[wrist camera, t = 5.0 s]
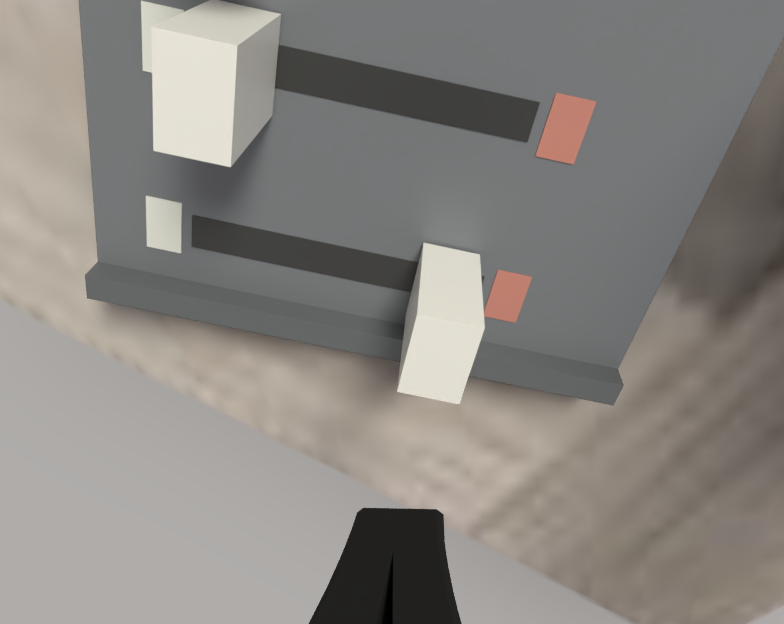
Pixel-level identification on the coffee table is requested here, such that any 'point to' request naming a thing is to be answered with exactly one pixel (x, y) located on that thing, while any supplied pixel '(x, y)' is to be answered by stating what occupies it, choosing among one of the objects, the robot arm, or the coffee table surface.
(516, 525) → the coffee table surface
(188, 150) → the block
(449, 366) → the block
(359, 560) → the robot arm
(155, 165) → the breaker panel
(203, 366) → the coffee table surface
